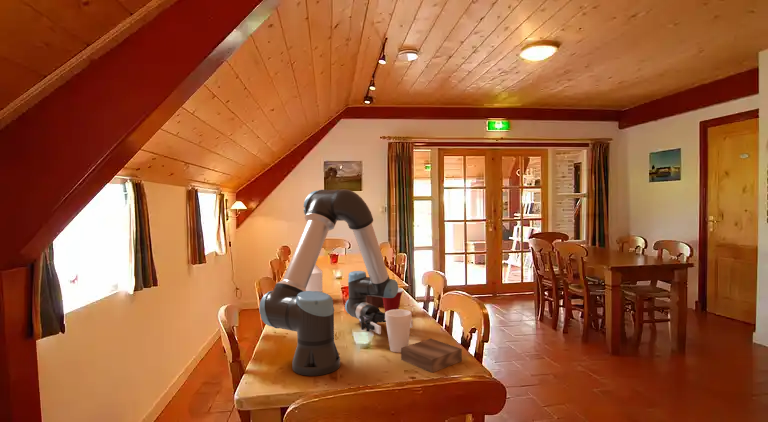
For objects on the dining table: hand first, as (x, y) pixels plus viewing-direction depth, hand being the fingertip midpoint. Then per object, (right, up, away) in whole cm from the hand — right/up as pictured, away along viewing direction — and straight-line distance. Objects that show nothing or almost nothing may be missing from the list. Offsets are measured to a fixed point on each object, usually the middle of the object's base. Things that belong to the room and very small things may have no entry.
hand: (396, 327), depth 155 cm
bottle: (-42, -6, +67) cm, 80 cm away
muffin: (-9, -6, +59) cm, 60 cm away
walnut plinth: (+11, -7, -13) cm, 19 cm away
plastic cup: (-1, -6, +43) cm, 43 cm away
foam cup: (+1, -7, -3) cm, 8 cm away
